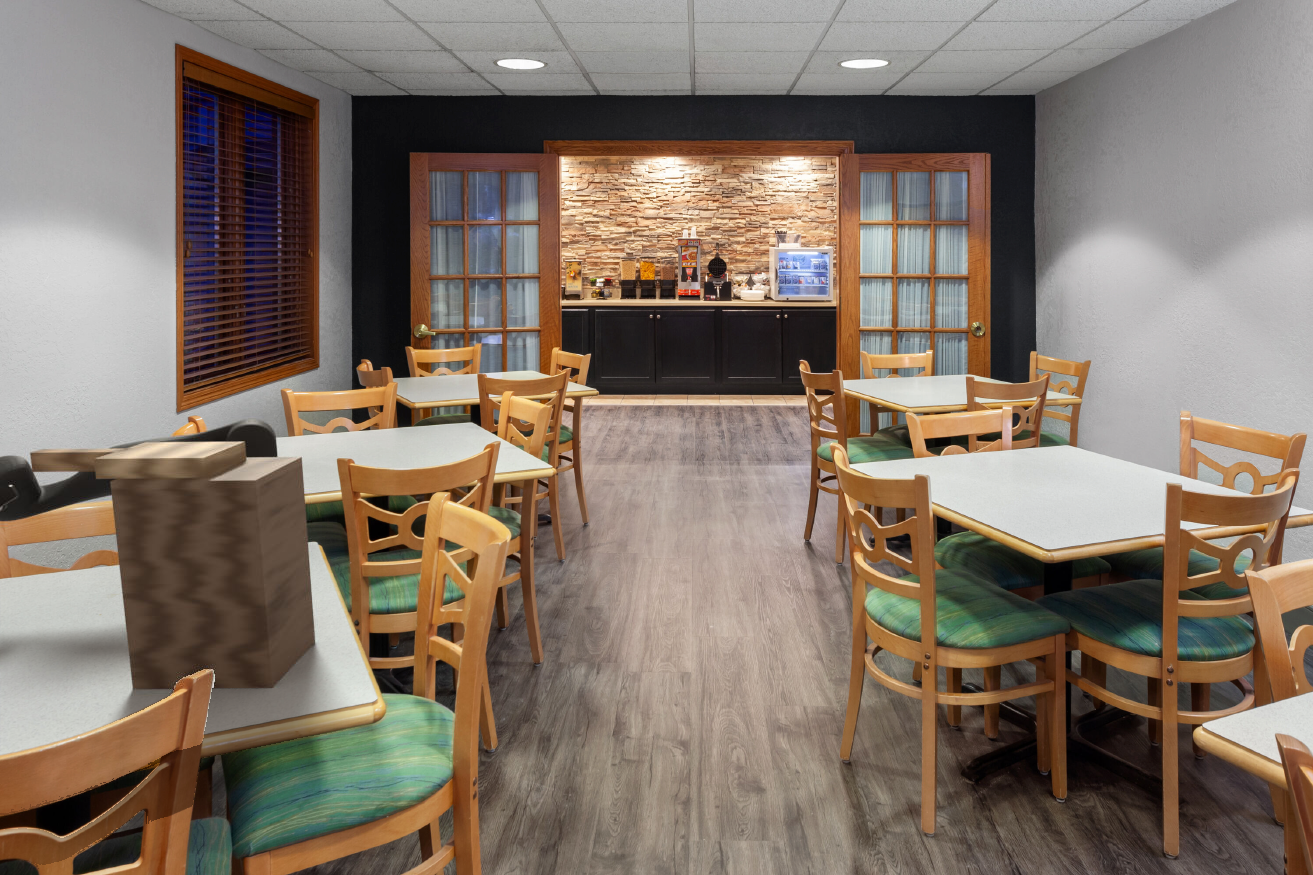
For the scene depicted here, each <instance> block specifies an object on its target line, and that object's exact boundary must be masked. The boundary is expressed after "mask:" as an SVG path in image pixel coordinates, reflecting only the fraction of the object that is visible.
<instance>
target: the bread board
mask: <svg viewBox="0 0 1313 875" xmlns="http://www.w3.org/2000/svg"><path fill="white" fill-rule="evenodd" d="M29 455H30V464H31V465H30V466H31V468H32V472H33V473H50V472H51V473H53V472H54V473H60V472H63V473H66V472H67V473H68V472H69V473H70V472H73V473H74V472H77V473H78V472H89V471H95V472H96V479H135V478H206V477H208V476H211V475H213V474H215V473H218V472H220V471H222V470H224V469H227V468H229V467H231V466H234V465H236V464H238V463H240V462H243V461H245V460H246V448H245V442H145V443H142V444H139V445H136V446H133V447H130V448H122V449H109V448H47V449H46V448H42V449H38V450H35V451H32V452H31V451H30V452H29Z"/></svg>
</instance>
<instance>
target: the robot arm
mask: <svg viewBox="0 0 1313 875" xmlns="http://www.w3.org/2000/svg"><path fill="white" fill-rule="evenodd" d="M145 442H245V448H246V458H247V457H279V456H278V446H277V436H276V433H275V430H274V429H273V428H272V426H270V424H268V423H267V422H266V421H263V420H260V419H257V418H245V419H242V420H238V421H236V422H233V423H229V424H227V425H223V426H220V427H216V428H213V429H210V430H204V431H202V432H197V433H191V434H182V435H181V434H180V435H172V436H164V437H157V438H150V439H144V440H139V441H133V442H128V443H124V444H120V445H119V444H118V445H114V446H112V447H109V448H108V449H122V448H130V447H133V446H136V445H139V444H142V443H145ZM113 480H116V479H96V472H95V471H89V472H77V473H74V474H73V475H72V476H70V477H68V478H66V479H65V478H64V479H62V480H60V481H57V482H54V483H50V484H44V485H40V484H39V482H38V479H37V477H36V475H35V472H32V465H30V463H29V462H28V460H27V459H25V458H24V457H22V456H20V455H3V456H0V522H12V521H13V522H14V521H18V520H23V519H27V518H32V517H34V516H38V515H41V514H45V513H48V512H51V511H55V510H59V509H61V508H64V507H68V506H72V505H75V504H79V503H84V502H88V501H91V500H96V499H101V498H105V497H109V496H112V493H111V484H110V481H113Z"/></svg>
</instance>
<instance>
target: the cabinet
mask: <svg viewBox="0 0 1313 875" xmlns="http://www.w3.org/2000/svg"><path fill="white" fill-rule="evenodd" d="M303 467H304V466H303V457H302V456H288V457H287V456H278V457H247V458H246V460H245V461H243V462H240V463H238V464H236V465H234V466H231V467H229V468H227V469H224V470H222V471H220V472H218V473H215V474H213V475H211V476H208V477H206V478H135V479H116V480H113V481H110V484H111V493H112V495H111V501H112V510H113V518H114V519H113V520H114V529H115V537H116V547H117V555H118V556H117V557H118V565H119V574H120V583H121V590H122V592H121V593H122V602H123V603H122V604H123V612H124V620H125V621H124V622H125V629H126V639H127V649H128V658H129V666H130V667H129V668H130V674H131V684H132V690H174V689H173V688H174V686H175V685H176V682H178V681H179V680H180V679H182V678H183V677H186V676H188V675H192V674H194V673H196V672H198V671H201V670H203V669H213V670H214V674H215V682H214V688H213V689H272V688H274V687H275V686H276V684H278V682H279V681H281V679H282V678H283V677H284V676H285V675H286V674H287V673H288V672H289V671H290V670H291V668H292V667H293V666H294V665H296V663H297V662H298V661H299V660H300V659H301V658H302V656H304V655H305V653H306V652H308V650H309V649H310V648H311V647H312V646H313V645H314V644H315V643H316V636H315V635H316V632H315V622H314V621H315V619H314V608H313V607H314V605H313V595H312V580H311V578H312V577H311V565H310V564H311V563H310V554H309V553H310V552H309V550H310V549H309V537H308V525H307V523H308V522H307V513H306V511H307V510H306V509H307V508H306V496H305V494H306V493H305V482H304V471H303V469H304V468H303ZM274 685H275V686H274Z"/></svg>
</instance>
